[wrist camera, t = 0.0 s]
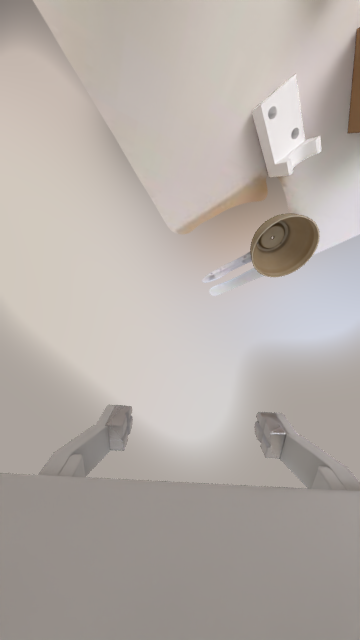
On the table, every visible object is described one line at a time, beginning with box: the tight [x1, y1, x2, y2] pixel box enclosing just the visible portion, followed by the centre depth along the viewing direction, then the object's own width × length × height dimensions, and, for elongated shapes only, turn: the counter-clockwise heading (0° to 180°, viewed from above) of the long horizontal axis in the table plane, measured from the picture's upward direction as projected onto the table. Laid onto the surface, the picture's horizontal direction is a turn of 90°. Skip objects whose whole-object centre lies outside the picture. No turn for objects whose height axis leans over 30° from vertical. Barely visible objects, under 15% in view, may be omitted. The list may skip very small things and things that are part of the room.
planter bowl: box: [250, 214, 319, 277], centre depth 51 cm, size 16×16×11 cm
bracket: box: [252, 74, 322, 177], centre depth 37 cm, size 13×7×8 cm, turn 34°
